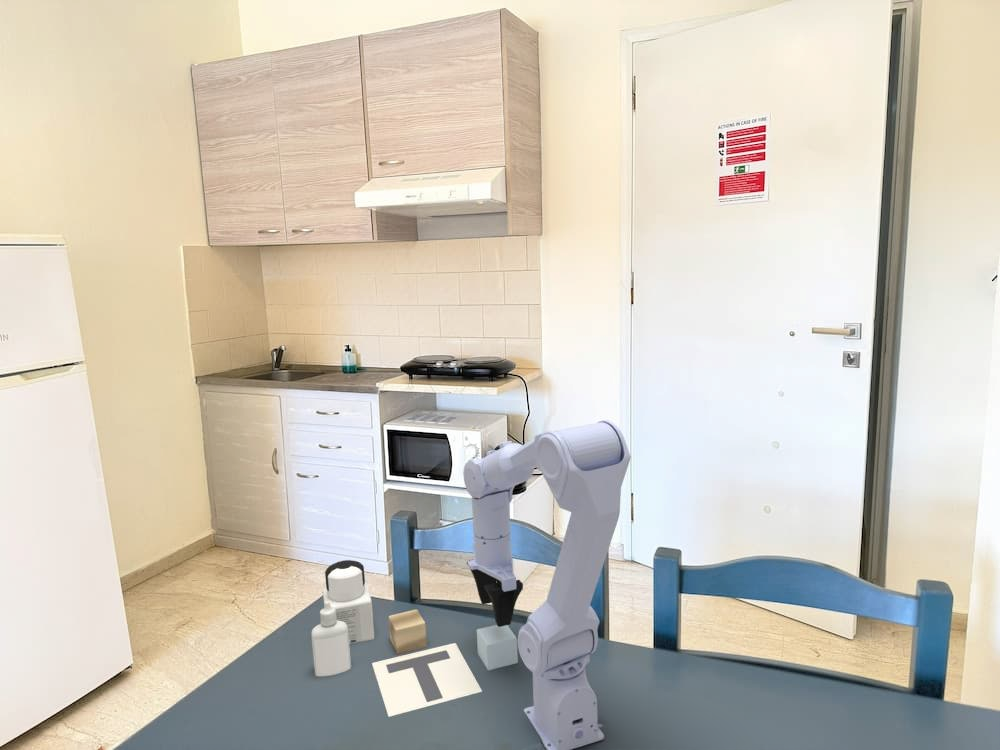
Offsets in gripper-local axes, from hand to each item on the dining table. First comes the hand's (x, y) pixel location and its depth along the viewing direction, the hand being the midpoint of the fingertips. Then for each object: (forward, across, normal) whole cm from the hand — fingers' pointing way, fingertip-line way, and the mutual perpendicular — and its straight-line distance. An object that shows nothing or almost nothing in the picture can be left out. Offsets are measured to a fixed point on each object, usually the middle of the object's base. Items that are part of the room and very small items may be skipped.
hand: (495, 613), depth 106 cm
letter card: (+8, 0, -12) cm, 15 cm away
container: (+9, -18, -21) cm, 29 cm away
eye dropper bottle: (+9, -8, -25) cm, 28 cm away
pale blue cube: (+8, 0, 0) cm, 8 cm away
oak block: (+8, -10, -12) cm, 18 cm away
